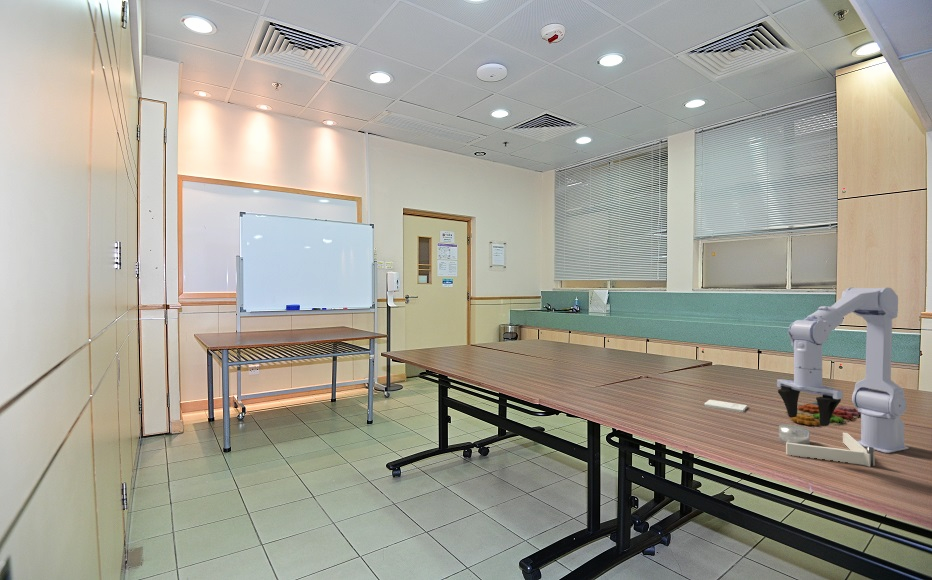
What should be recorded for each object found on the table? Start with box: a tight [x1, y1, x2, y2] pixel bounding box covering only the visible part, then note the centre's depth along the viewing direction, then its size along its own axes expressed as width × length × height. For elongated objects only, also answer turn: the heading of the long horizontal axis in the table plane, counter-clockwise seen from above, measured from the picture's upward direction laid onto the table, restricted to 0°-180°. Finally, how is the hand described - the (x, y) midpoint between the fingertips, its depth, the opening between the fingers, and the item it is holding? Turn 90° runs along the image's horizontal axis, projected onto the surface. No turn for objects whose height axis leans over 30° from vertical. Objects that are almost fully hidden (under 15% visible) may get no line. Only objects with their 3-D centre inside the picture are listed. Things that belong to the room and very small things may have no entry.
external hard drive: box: [703, 399, 748, 413], centre depth 163 cm, size 2×8×12 cm
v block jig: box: [785, 432, 875, 468], centre depth 115 cm, size 24×13×4 cm, turn 109°
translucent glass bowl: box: [778, 423, 811, 445], centre depth 127 cm, size 7×7×4 cm
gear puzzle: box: [785, 401, 861, 427], centre depth 150 cm, size 31×16×4 cm, turn 121°
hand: (808, 421), depth 112 cm, fingers open, 7 cm apart
